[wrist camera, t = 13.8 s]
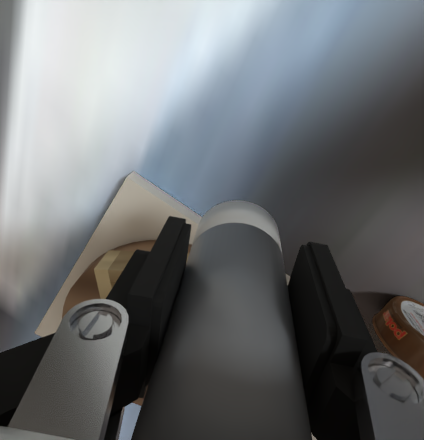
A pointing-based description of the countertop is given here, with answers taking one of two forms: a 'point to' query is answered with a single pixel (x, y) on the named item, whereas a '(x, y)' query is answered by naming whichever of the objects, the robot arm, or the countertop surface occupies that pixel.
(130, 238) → the dial base
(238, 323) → the grey rounded cylinder
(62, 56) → the countertop surface
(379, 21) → the countertop surface
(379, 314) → the tin
